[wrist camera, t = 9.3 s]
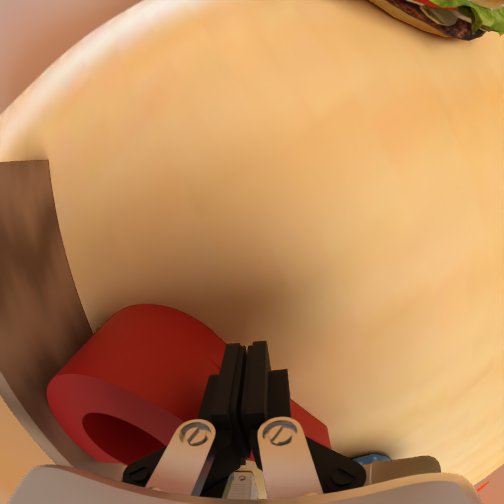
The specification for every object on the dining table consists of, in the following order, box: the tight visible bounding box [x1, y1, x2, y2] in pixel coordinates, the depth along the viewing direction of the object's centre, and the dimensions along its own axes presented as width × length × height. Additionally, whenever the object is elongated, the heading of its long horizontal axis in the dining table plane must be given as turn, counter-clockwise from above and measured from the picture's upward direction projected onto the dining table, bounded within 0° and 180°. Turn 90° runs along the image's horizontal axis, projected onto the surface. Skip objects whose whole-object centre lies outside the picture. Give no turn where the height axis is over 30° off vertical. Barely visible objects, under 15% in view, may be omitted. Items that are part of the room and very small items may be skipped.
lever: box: [47, 304, 331, 466], centre depth 13 cm, size 18×9×7 cm, turn 56°
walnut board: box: [0, 160, 99, 467], centre depth 12 cm, size 24×2×8 cm, turn 9°
